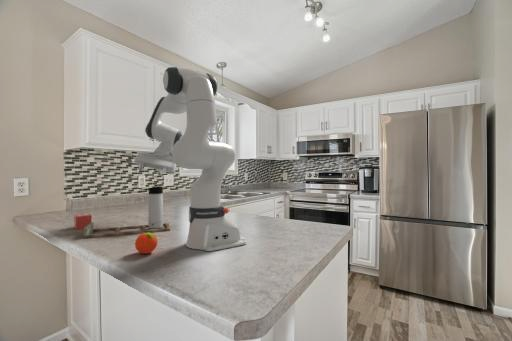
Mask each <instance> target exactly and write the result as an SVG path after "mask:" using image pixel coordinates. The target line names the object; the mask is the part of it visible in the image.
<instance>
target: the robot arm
mask: <svg viewBox="0 0 512 341" xmlns="http://www.w3.org/2000/svg"><path fill="white" fill-rule="evenodd" d="M162 84H163V89H164V90H165V91H166V92H167V93H168V94H166V96H162V97H161V98H160V99H159V100H158V102H157V103H156V106H155V108H154V110H153V112H152V115H151V117H150V118H149V121H148V123H147V124H146V126H145V131H144V132H145V134H146V135H147V137H148V138H149V139H153V140H156V141H159V142H160V143H159V145H158V146H157V147H156V148H155V149H154V150H153V152H146V151H143V152H140V153H138V154H137V155H136V156H135V157H134V164H135V165H137V166H139V167H138V171H139V172H140V171H141V172H143V170H144V168H145V167H146V168H150V169H155V170H158V171H157V175H158V176H162V175H163V174H165V173H171V174H173V173H175V171H176V170H177V167H179V168H182V169H187V170H202V171H201V175H200V177H199V178H198V179H197V180H195V181H194V182H192V184H191V186H190V194H189V195H190V200H189V201H190V206H189V208H188V209H189V210H188V220H189V221H188V222H189V229H188V234H187V240H186V243H185V246H186V247H187V248H189V249H193V250H202V251H207V252H213V251H219V250H224V249H229V248H234V247H238V246H239V247H241V246H243V245H246V244H247V239H246V237H245V236H244V235H241V231H240V228H239V225H238V224H236V223H235V222H234V221H233V220H232V219H231V218H230V217H228V216H226V214H229V213H230V209H229V208H228V207H224V206H222V205H221V191H222V183H223V179H224V177H225V175H226V173H227V171H228V170H229V169H230V168H231V167H232V166H233V164H234V162H235V160H236V153H235V149H234V148H233V146H231V145H230V144H228V143H225V142H222V141H215V140H209V138H208V135H209V132H210V131H212V130H213V129H215V127H217V123H218V118H217V108H216V107H217V106H216V100H215V96H216V94H217V93H218V92H217V91H218V82H217V79H216V77H215V75H212V74H210V73H205V72H201V71H197V70H194V69H190V68H180V67H179V68H178V67H176V66H173V67H172V66H170V67H167V68H166V69H165V71H164V73H163V76H162ZM165 113H166V114H167V113H168V114H169V113H170V114H173V115H179V114H184V113H186V128H185V132H184V133H183V134H182V132H181V130H180V129H178V128H176V127H173V126H171V125H168V124H166V123H164V122H162V121H161V119H162V117H163V114H165Z"/></svg>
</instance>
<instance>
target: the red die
mask: <svg viewBox="0 0 512 341" xmlns="http://www.w3.org/2000/svg"><path fill="white" fill-rule="evenodd" d="M90 223H92V214H90V213H82V214H81V213H80V214H73V228H74V230H75V231H77V230H84V228H85V227H86V226H87V225H88V224H90Z"/></svg>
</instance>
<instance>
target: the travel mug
mask: <svg viewBox="0 0 512 341" xmlns="http://www.w3.org/2000/svg"><path fill="white" fill-rule="evenodd" d="M163 190H164V188H163V186H156V187H148V225H149V227H148V230H152V229H164V226H163V224H164V191H163Z"/></svg>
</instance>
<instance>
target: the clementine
mask: <svg viewBox="0 0 512 341" xmlns="http://www.w3.org/2000/svg"><path fill="white" fill-rule="evenodd" d="M157 246H158V238H157V235H155V234H154V232H151V233H150V232H146V233H140V234H139V235H138V236H136V240H135V243H134V247H135V249H136V250H137V252H139V253H140V254H143V255H146V254H150V253H152V252H153V251H155V250H156V248H157Z"/></svg>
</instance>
